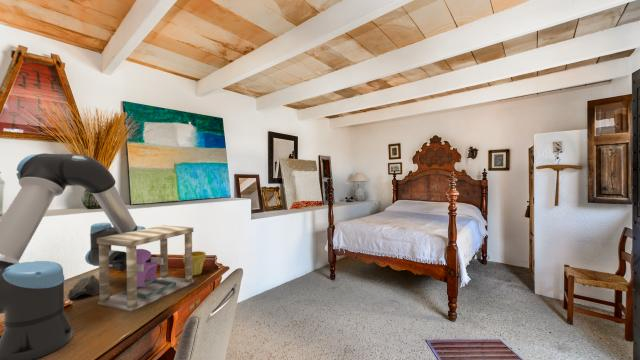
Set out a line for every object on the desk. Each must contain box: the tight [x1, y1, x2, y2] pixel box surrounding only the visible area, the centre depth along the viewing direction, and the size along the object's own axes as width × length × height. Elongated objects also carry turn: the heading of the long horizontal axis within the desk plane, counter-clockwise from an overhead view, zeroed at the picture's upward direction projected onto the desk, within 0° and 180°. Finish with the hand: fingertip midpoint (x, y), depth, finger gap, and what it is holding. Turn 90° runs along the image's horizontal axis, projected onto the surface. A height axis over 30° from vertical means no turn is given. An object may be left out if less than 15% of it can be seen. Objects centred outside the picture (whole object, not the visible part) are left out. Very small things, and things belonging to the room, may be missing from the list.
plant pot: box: [182, 250, 207, 276], centre depth 137 cm, size 10×10×10 cm
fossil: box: [67, 273, 100, 300], centre depth 113 cm, size 11×9×10 cm
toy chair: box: [136, 248, 158, 287], centre depth 116 cm, size 8×9×15 cm
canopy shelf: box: [97, 225, 195, 312], centre depth 115 cm, size 29×18×25 cm, turn 160°
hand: (152, 264), depth 115 cm, fingers closed on toy chair, 8 cm apart
